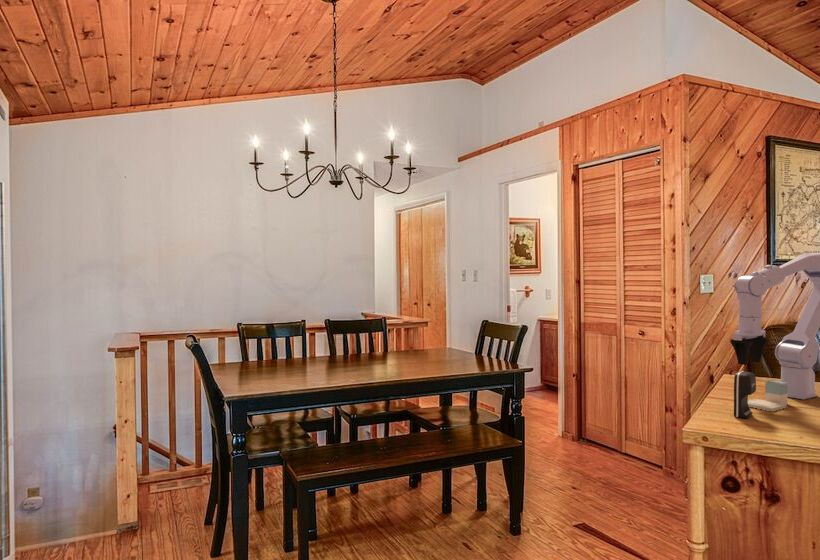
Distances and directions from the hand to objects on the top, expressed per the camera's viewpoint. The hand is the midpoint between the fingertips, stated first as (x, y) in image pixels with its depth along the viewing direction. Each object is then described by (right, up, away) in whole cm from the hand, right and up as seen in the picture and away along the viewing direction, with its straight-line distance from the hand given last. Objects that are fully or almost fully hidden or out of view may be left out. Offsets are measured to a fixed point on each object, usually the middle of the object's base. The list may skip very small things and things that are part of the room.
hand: (749, 363), depth 168 cm
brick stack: (+4, -11, -6) cm, 13 cm away
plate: (-2, -11, -10) cm, 14 cm away
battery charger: (-13, -11, -19) cm, 26 cm away
